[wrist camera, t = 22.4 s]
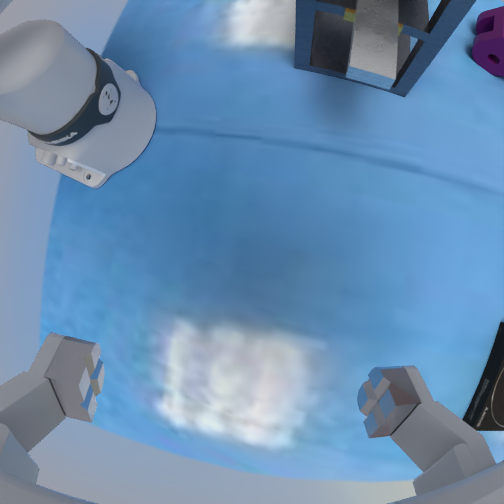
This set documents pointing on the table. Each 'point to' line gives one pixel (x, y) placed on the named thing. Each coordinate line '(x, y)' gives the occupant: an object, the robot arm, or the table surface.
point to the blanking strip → (374, 43)
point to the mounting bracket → (490, 41)
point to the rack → (340, 32)
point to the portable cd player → (489, 392)
